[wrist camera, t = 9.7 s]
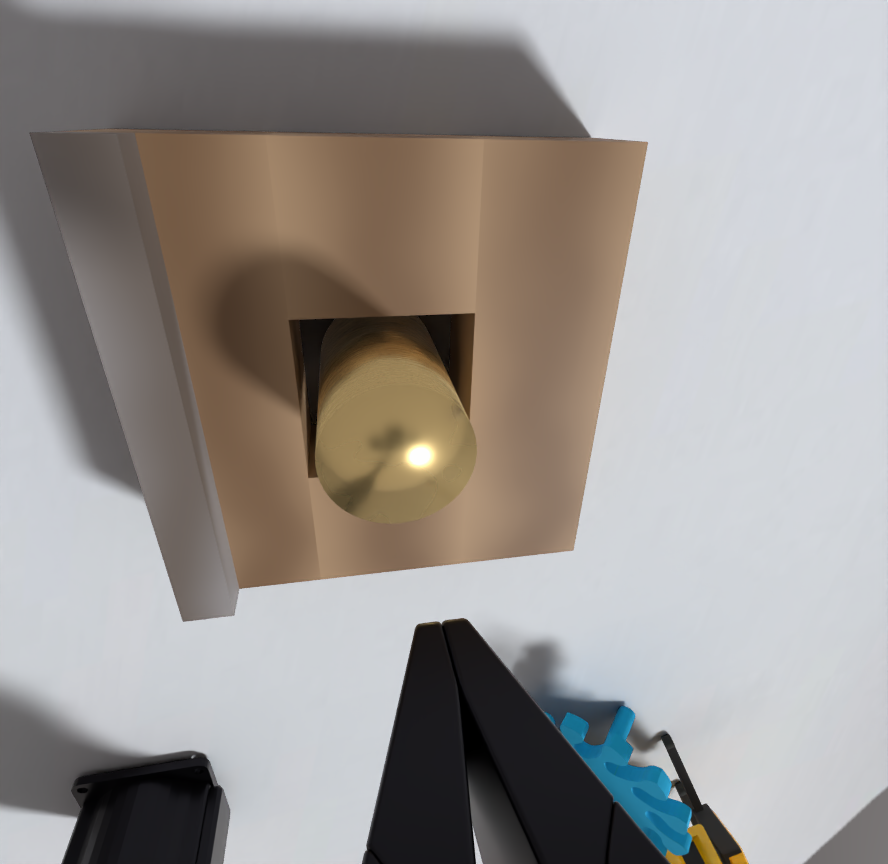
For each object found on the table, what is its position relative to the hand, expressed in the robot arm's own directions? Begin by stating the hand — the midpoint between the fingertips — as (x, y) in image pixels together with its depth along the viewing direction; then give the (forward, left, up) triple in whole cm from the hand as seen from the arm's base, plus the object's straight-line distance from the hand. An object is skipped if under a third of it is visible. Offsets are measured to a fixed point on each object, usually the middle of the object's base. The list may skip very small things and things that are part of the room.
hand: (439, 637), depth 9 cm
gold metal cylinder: (0, 0, -12) cm, 12 cm away
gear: (+11, -25, -13) cm, 30 cm away
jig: (0, 0, -12) cm, 12 cm away
